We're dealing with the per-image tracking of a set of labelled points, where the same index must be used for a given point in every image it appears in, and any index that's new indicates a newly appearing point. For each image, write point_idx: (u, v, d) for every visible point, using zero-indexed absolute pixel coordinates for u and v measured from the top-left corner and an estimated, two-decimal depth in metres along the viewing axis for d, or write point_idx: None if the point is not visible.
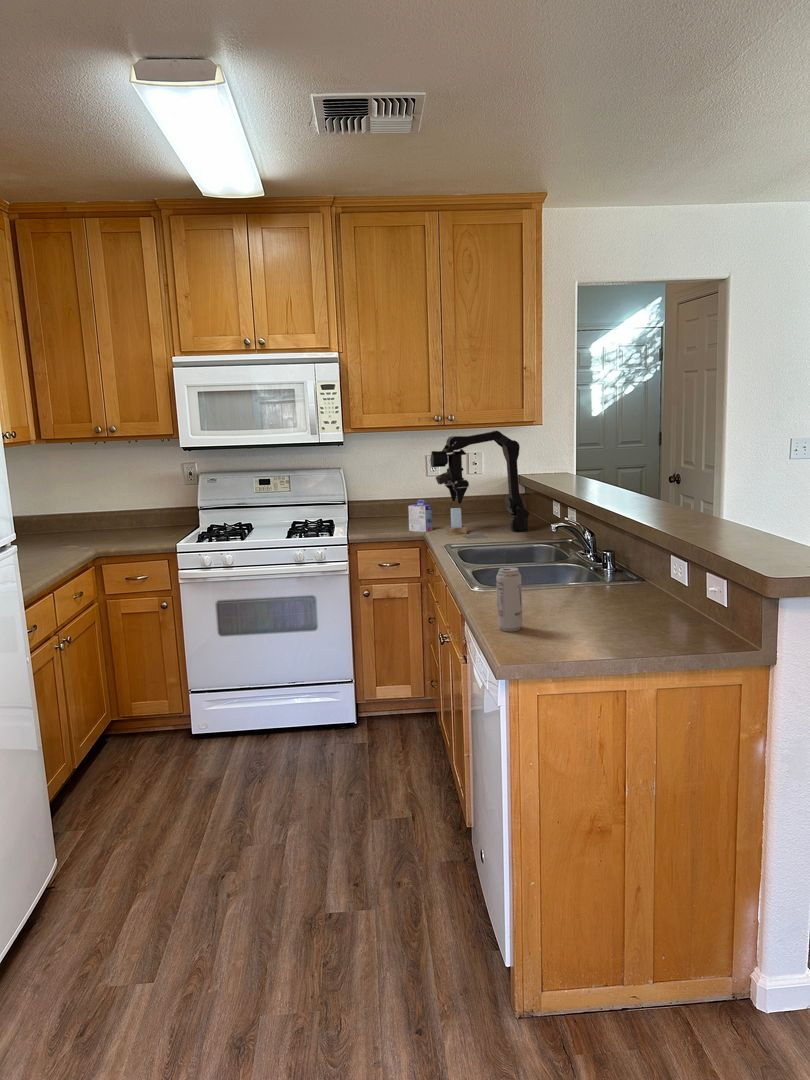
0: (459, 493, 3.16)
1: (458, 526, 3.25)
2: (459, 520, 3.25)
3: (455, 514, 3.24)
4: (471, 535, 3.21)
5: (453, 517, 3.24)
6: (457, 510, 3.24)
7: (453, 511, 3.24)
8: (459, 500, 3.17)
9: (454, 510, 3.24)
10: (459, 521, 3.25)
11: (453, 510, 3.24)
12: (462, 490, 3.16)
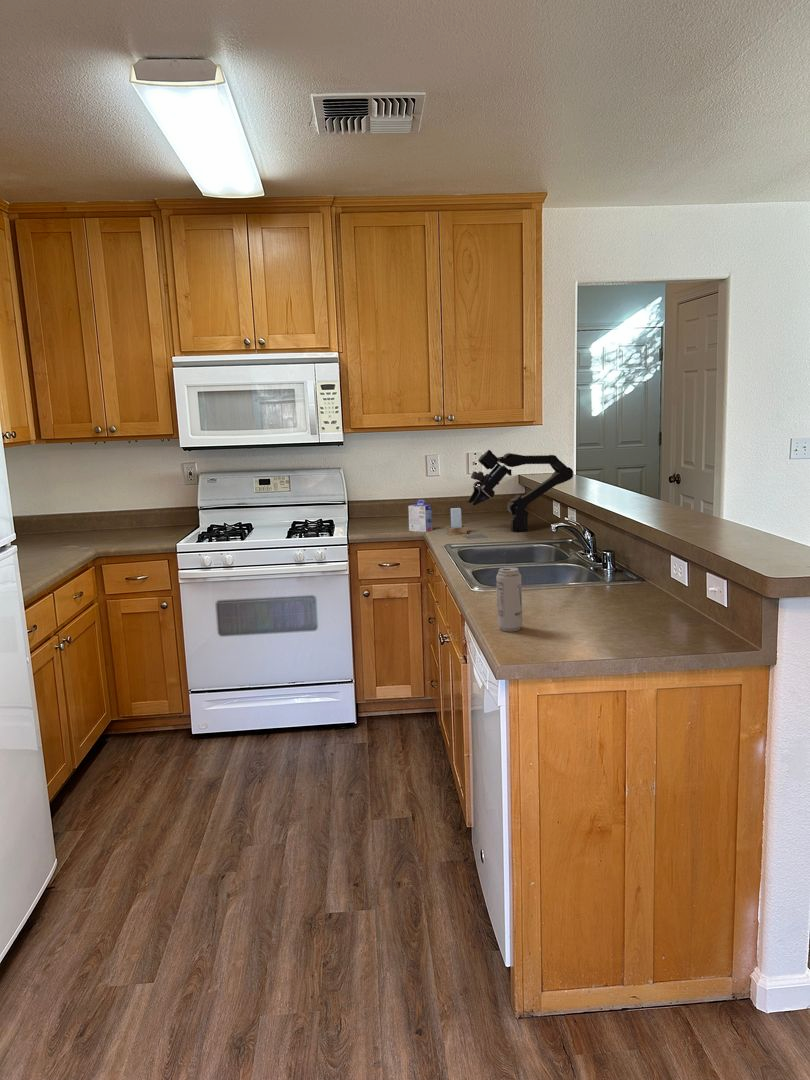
0: (480, 497, 3.20)
1: (458, 526, 3.25)
2: (459, 520, 3.25)
3: (455, 514, 3.24)
4: (471, 535, 3.21)
5: (453, 517, 3.24)
6: (457, 510, 3.24)
7: (453, 511, 3.24)
8: (475, 502, 3.21)
9: (454, 510, 3.24)
10: (459, 521, 3.25)
11: (453, 510, 3.24)
12: (484, 497, 3.20)
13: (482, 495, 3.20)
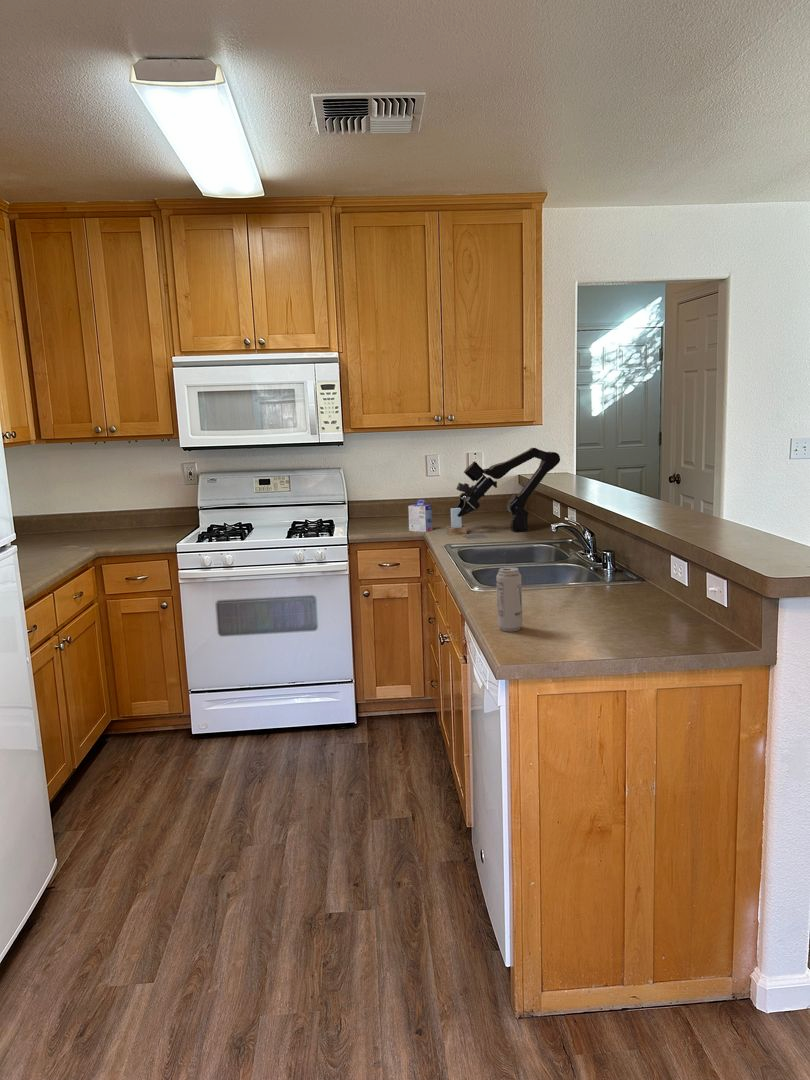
0: (465, 508, 3.20)
1: (458, 526, 3.25)
2: (459, 520, 3.25)
3: (455, 514, 3.24)
4: (471, 535, 3.21)
5: (453, 517, 3.24)
6: (457, 510, 3.24)
7: (453, 511, 3.24)
8: (460, 514, 3.21)
9: (454, 510, 3.24)
10: (459, 521, 3.25)
11: (453, 510, 3.24)
12: (469, 508, 3.20)
13: (467, 507, 3.20)
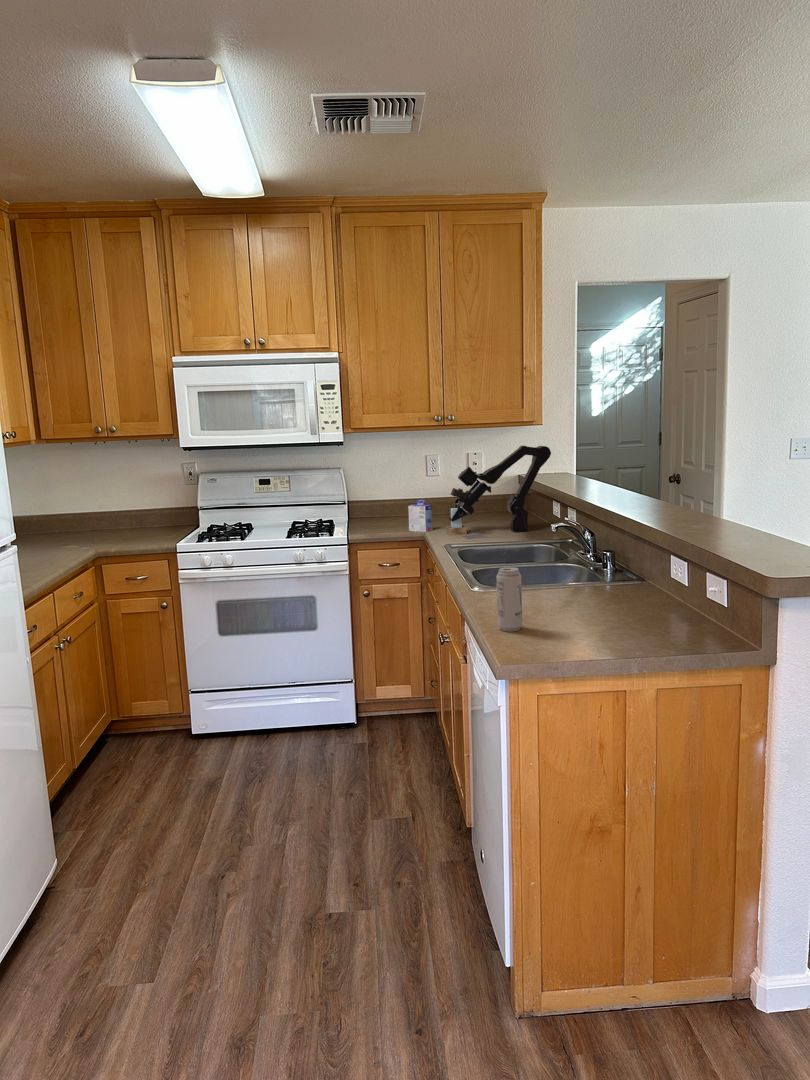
0: (458, 513, 3.23)
1: (458, 526, 3.25)
2: (459, 520, 3.25)
3: None
4: (471, 535, 3.21)
5: None
6: None
7: (453, 511, 3.24)
8: (453, 518, 3.24)
9: (454, 510, 3.24)
10: (459, 521, 3.25)
11: (453, 510, 3.24)
12: (462, 513, 3.23)
13: (460, 511, 3.23)
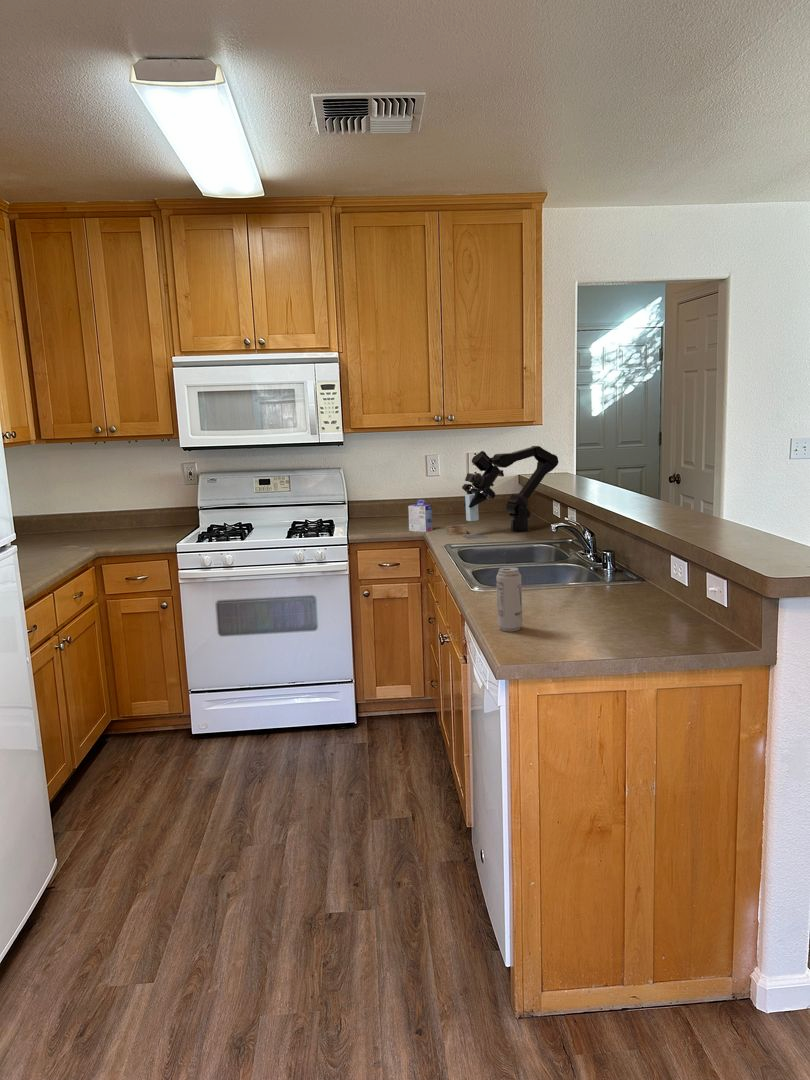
0: (476, 499, 3.15)
1: (475, 512, 3.17)
2: (476, 506, 3.17)
3: None
4: (471, 535, 3.21)
5: None
6: (474, 495, 3.16)
7: (470, 497, 3.15)
8: (471, 504, 3.15)
9: (471, 496, 3.15)
10: (476, 507, 3.17)
11: (470, 496, 3.15)
12: (480, 498, 3.15)
13: (478, 497, 3.15)
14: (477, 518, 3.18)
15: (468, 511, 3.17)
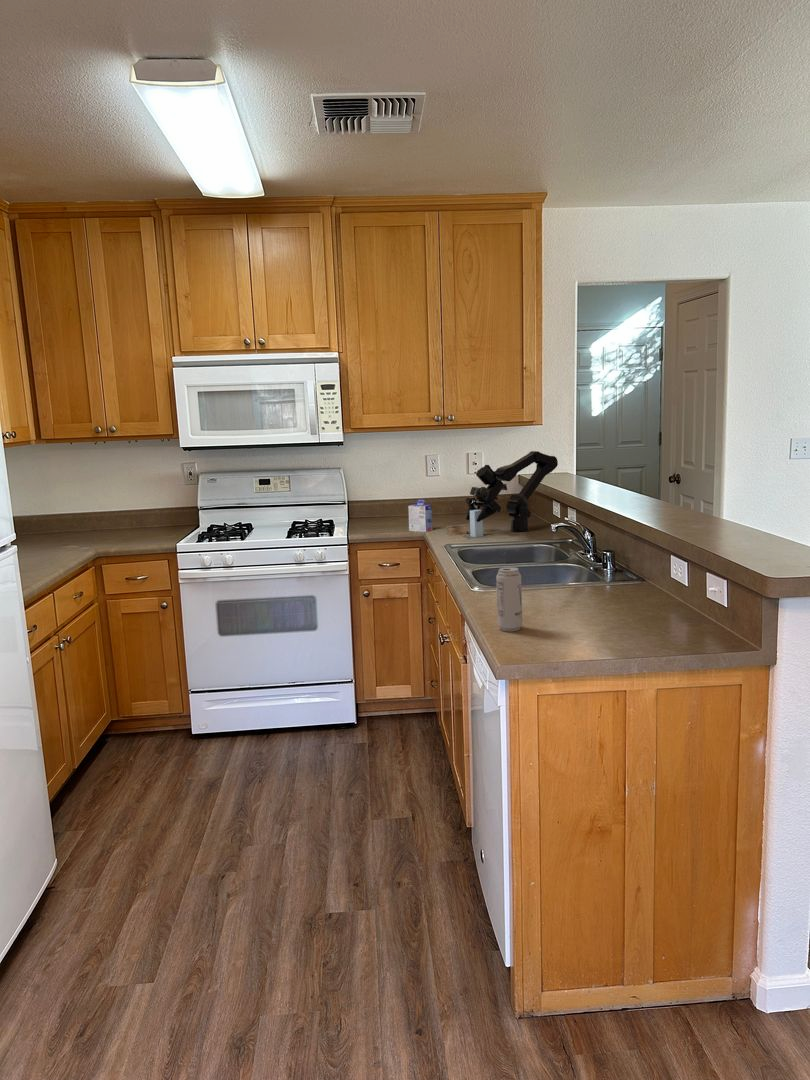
0: (484, 513, 3.13)
1: (480, 528, 3.17)
2: (480, 522, 3.16)
3: (477, 516, 3.15)
4: None
5: (475, 519, 3.15)
6: (479, 511, 3.15)
7: (475, 513, 3.14)
8: (479, 518, 3.13)
9: (476, 512, 3.15)
10: (481, 523, 3.16)
11: (475, 512, 3.14)
12: (488, 512, 3.13)
13: (486, 511, 3.13)
14: (481, 534, 3.17)
15: (473, 527, 3.16)
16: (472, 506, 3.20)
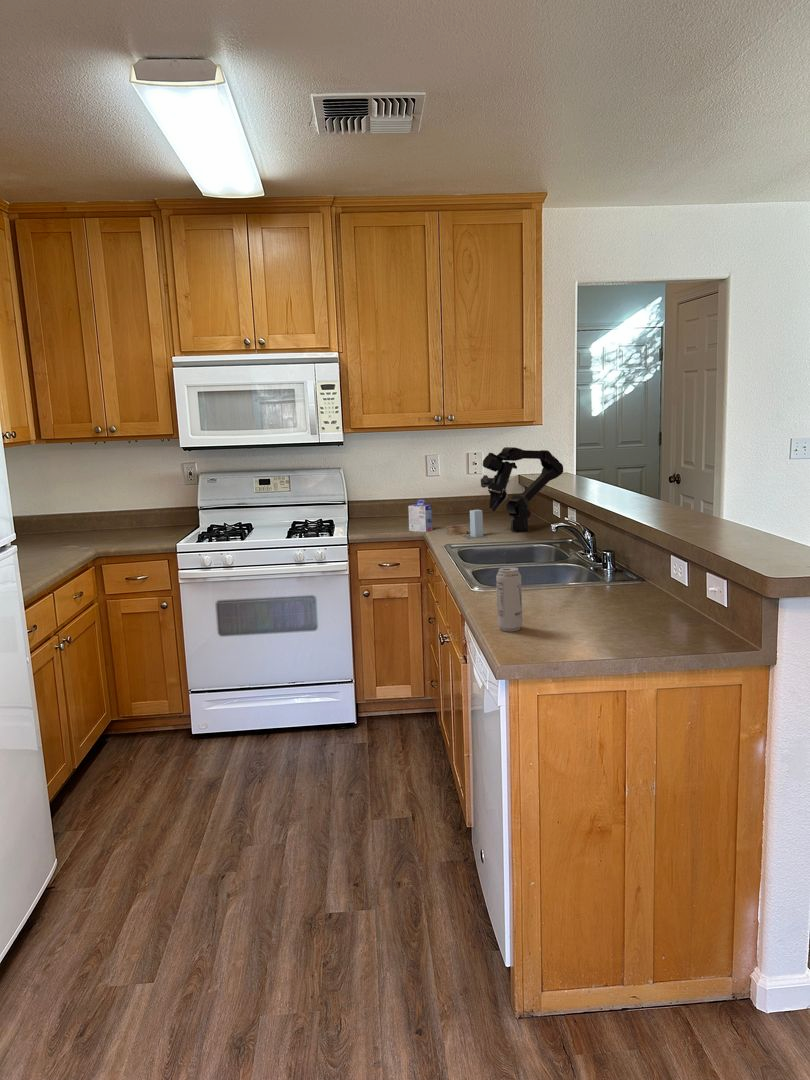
0: (492, 497, 3.16)
1: (480, 528, 3.17)
2: (480, 522, 3.16)
3: (477, 516, 3.15)
4: None
5: (476, 519, 3.15)
6: (479, 511, 3.15)
7: (475, 513, 3.14)
8: (491, 505, 3.17)
9: (476, 512, 3.15)
10: (481, 523, 3.16)
11: (475, 512, 3.14)
12: (496, 495, 3.16)
13: (494, 495, 3.16)
14: (481, 534, 3.17)
15: (473, 527, 3.16)
16: None
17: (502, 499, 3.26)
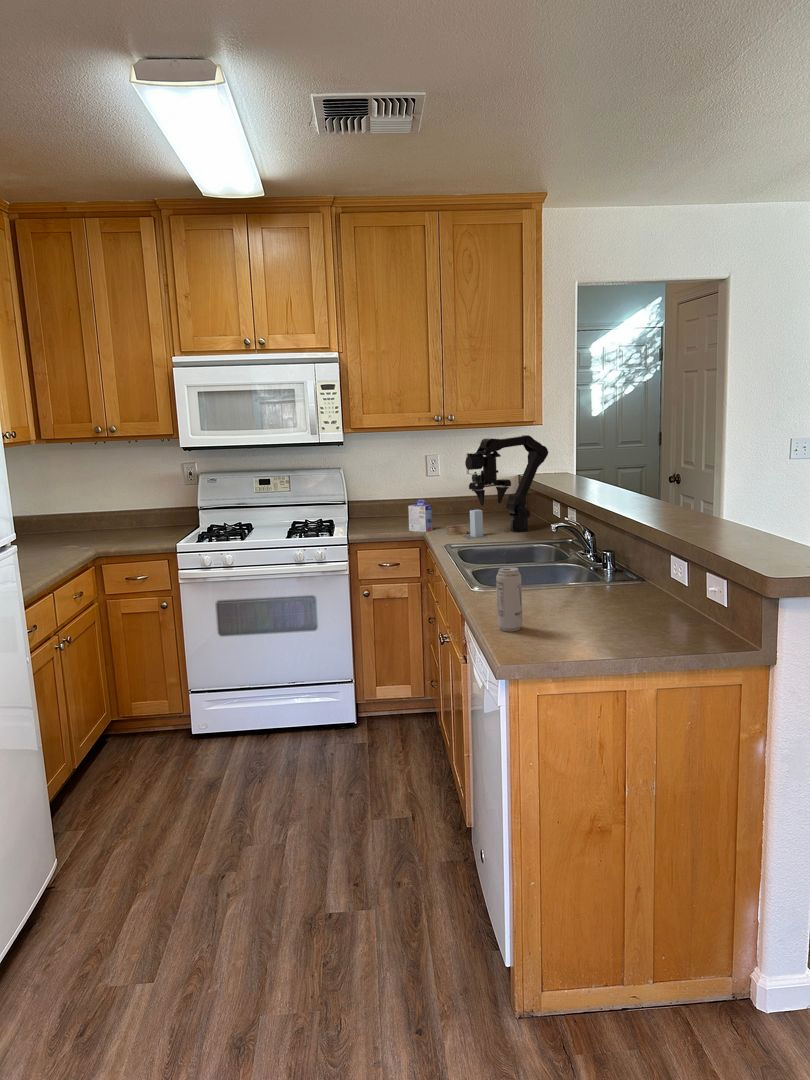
0: (479, 495, 3.19)
1: (480, 528, 3.17)
2: (480, 522, 3.16)
3: (477, 516, 3.15)
4: None
5: (476, 519, 3.15)
6: (479, 511, 3.15)
7: (475, 513, 3.14)
8: (480, 502, 3.20)
9: (476, 512, 3.15)
10: (481, 523, 3.16)
11: (475, 512, 3.14)
12: (480, 493, 3.17)
13: (479, 492, 3.18)
14: (481, 534, 3.17)
15: (473, 527, 3.16)
16: (497, 488, 3.25)
17: (502, 489, 3.22)
